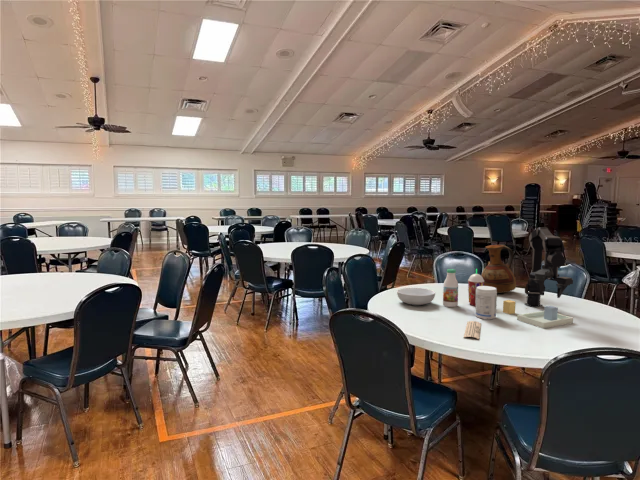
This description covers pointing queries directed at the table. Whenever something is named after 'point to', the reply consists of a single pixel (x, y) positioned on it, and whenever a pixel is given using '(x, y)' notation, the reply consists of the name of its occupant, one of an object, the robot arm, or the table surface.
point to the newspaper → (472, 329)
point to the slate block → (550, 313)
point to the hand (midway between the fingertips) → (549, 295)
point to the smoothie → (474, 287)
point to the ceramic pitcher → (499, 270)
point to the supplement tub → (486, 302)
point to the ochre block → (509, 306)
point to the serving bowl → (416, 295)
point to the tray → (539, 320)
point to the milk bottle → (450, 289)
